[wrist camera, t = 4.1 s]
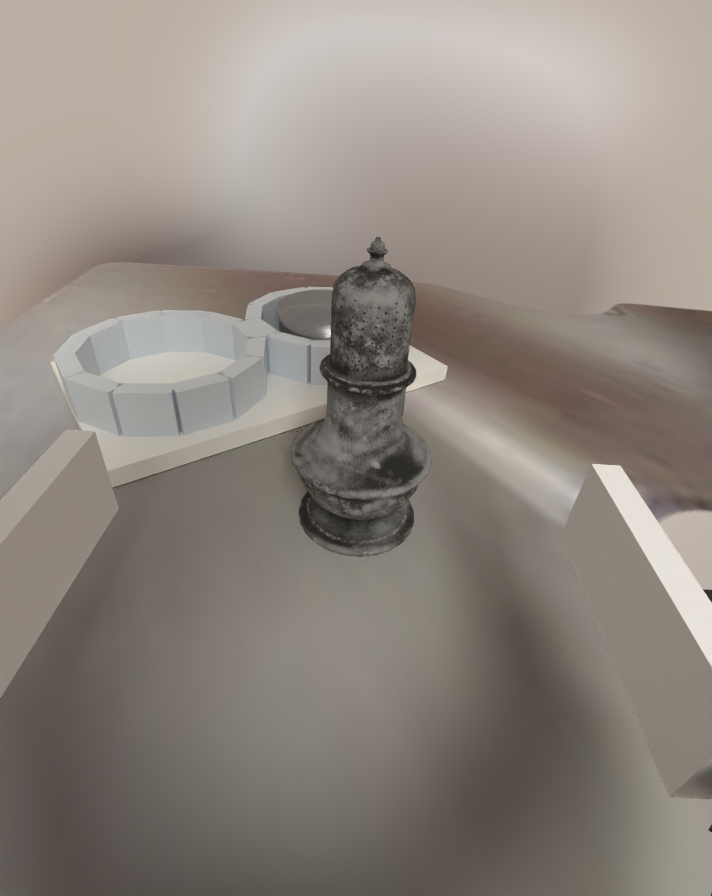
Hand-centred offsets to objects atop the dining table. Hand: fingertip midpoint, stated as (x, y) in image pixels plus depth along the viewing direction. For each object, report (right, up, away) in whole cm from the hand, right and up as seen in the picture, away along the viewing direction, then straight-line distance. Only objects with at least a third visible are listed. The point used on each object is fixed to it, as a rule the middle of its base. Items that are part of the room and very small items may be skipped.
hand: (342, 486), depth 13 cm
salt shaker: (0, -2, +9) cm, 10 cm away
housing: (-6, +6, +19) cm, 21 cm away
